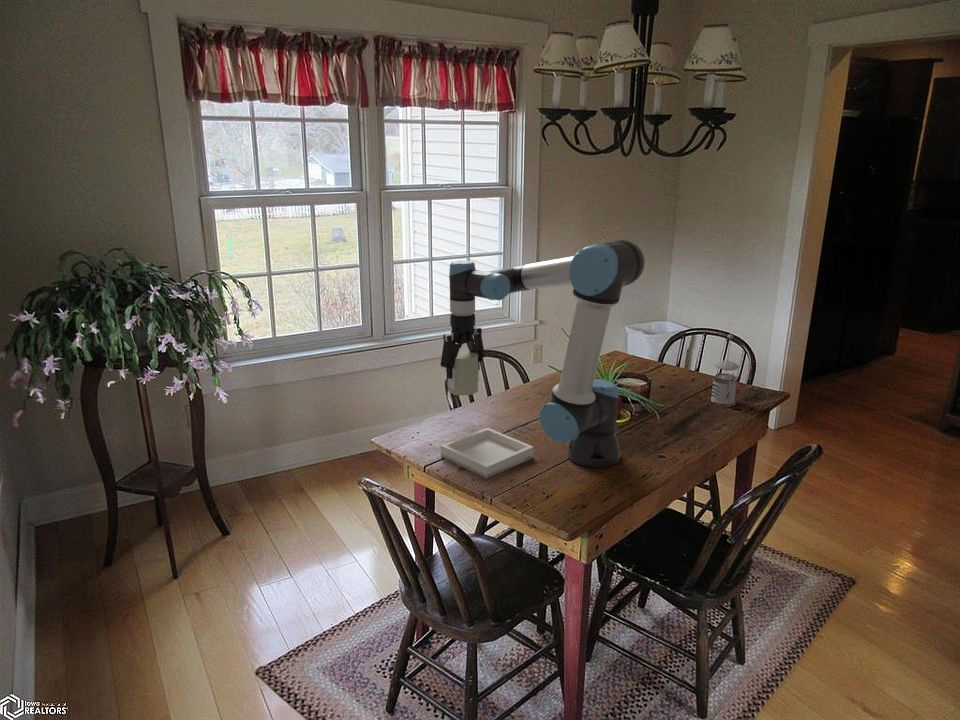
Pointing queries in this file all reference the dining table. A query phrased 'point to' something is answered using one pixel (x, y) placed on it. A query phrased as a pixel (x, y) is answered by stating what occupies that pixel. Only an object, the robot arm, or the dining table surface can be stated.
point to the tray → (487, 452)
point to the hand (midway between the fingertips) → (463, 384)
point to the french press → (724, 382)
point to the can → (466, 373)
